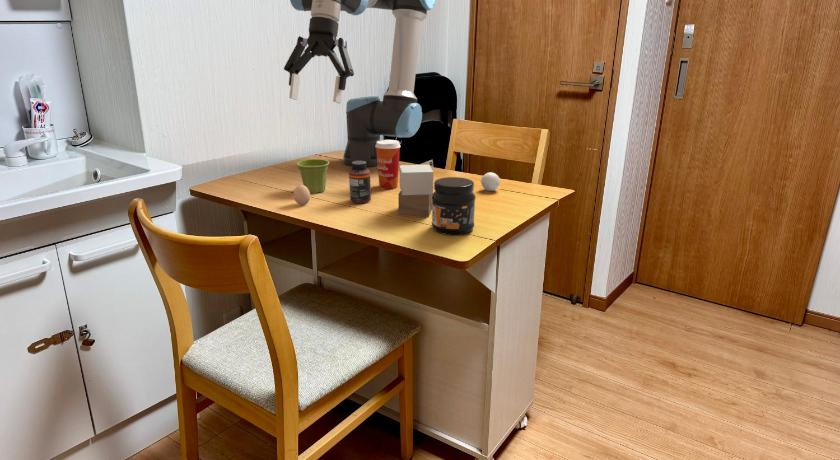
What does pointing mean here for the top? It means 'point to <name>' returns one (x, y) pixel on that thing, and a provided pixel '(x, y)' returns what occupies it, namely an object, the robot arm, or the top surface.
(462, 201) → the supplement container
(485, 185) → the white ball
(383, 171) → the paper cup
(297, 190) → the egg
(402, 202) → the bottom block
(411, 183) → the top block
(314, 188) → the plant pot
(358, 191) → the supplement bottle
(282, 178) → the top surface
